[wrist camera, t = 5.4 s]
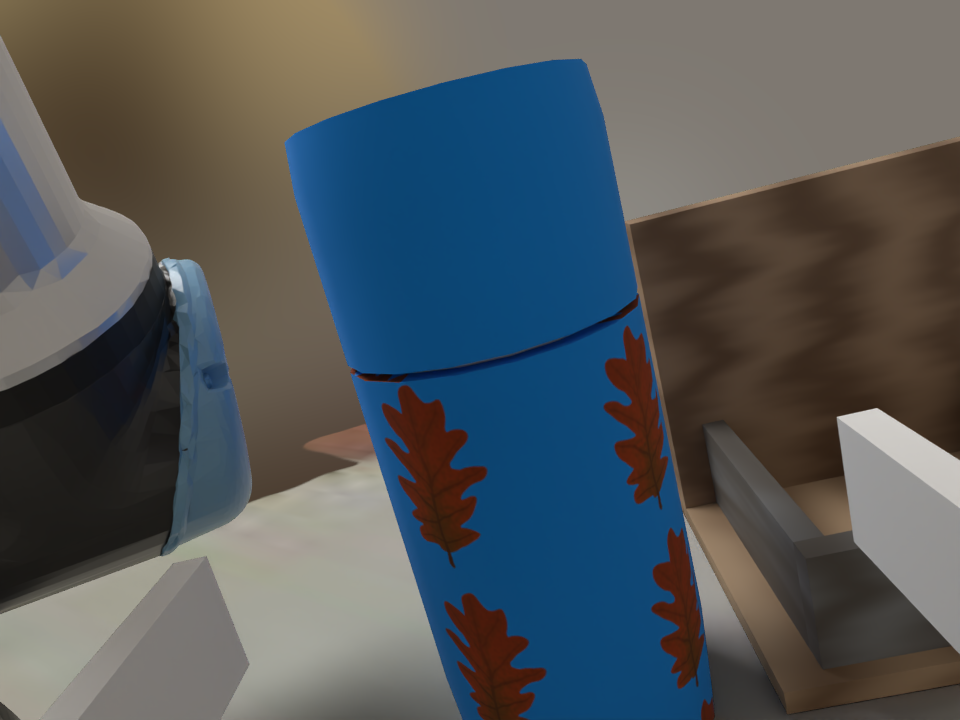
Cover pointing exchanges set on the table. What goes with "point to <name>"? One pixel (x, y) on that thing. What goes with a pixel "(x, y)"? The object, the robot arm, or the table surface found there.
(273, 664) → the table surface
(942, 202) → the mount board
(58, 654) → the table surface
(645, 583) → the thermos
